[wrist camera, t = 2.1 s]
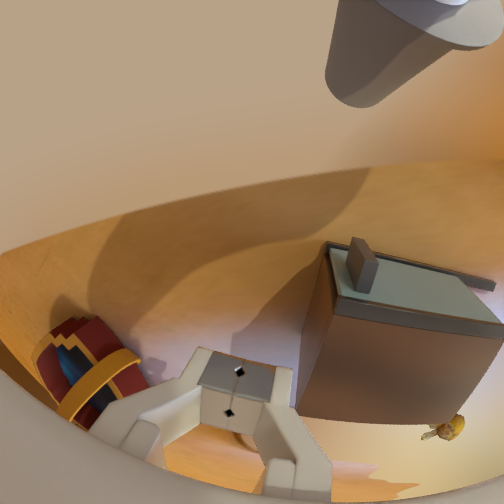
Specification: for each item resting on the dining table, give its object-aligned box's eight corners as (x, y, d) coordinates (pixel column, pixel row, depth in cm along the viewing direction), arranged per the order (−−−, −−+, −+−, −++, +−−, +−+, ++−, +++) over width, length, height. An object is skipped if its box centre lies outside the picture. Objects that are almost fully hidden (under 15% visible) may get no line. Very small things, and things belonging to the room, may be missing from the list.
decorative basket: (85, 278, 41) (13, 309, 27) (211, 409, 39) (163, 478, 25) (56, 364, 53) (14, 392, 39) (138, 451, 51) (104, 489, 37)
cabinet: (326, 240, 30) (339, 298, 17) (493, 281, 27) (548, 332, 14) (301, 334, 34) (293, 416, 22) (457, 356, 31) (490, 419, 19)
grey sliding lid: (335, 224, 28) (352, 263, 17) (463, 256, 26) (516, 299, 16) (328, 252, 29) (339, 304, 19) (455, 281, 27) (501, 331, 17)
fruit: (430, 415, 35) (434, 430, 32) (468, 404, 33) (474, 418, 30) (419, 440, 37) (422, 454, 34) (455, 430, 36) (459, 443, 32)
